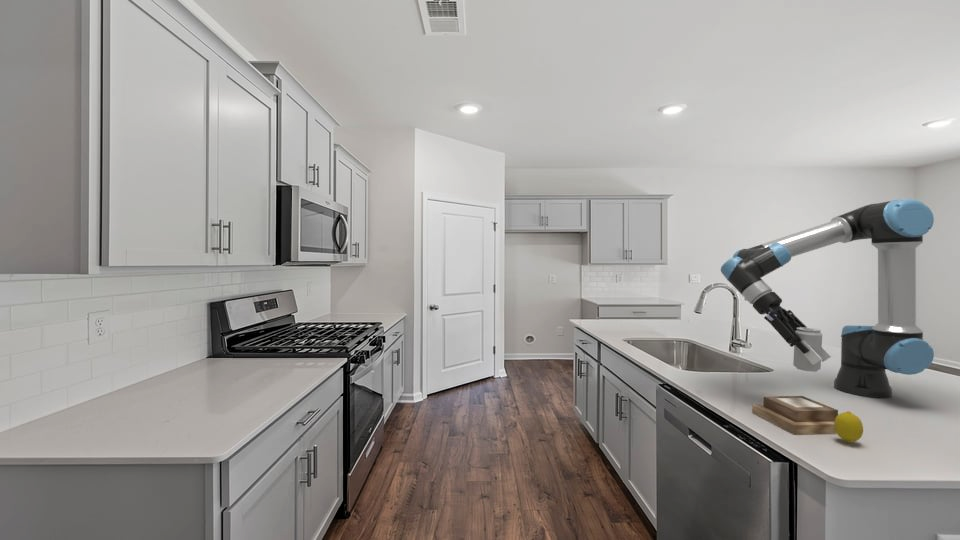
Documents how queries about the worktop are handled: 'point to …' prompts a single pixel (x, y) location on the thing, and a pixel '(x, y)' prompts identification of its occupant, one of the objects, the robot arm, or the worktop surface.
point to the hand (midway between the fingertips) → (822, 360)
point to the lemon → (848, 426)
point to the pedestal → (797, 414)
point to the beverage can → (814, 341)
